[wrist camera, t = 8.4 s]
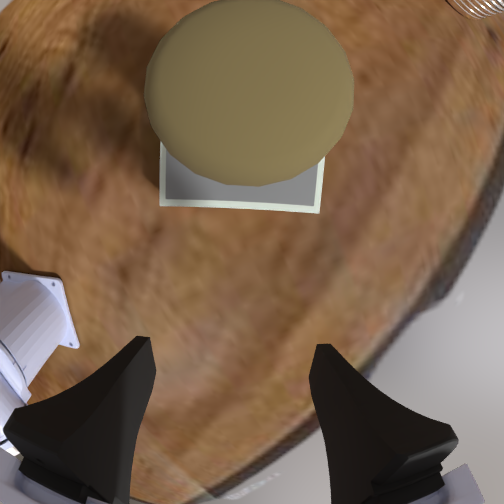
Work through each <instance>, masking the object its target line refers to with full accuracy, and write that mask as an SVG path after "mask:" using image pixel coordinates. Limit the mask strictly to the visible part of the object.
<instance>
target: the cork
mask: <svg viewBox="0 0 504 504" xmlns="http://www.w3.org/2000/svg"><path fill="white" fill-rule="evenodd" d="M144 100H145V104H146V108H147V112H148V116H149V120H150V124H151V127H152V128H153V130H154V132H155V133H156V135H157V136H158V138H159V139H160V141H161V142H162V144H163V145H164V146H165V148H166V149H167V151H168V152H169V154H170V155H171V156H172V157H174V158H175V159H176V160H178V161H179V162H180V163H182V164H183V165H184V166H186V167H187V168H188V169H190V170H191V171H192V172H193V173H195V174H197V175H200V176H203V177H206V178H208V179H211V180H214V181H217V182H219V183H222V184H225V185H238V186H255V187H260V186H264V185H269V184H273V183H277V182H281V181H285V180H290V179H292V178H294V177H296V176H297V175H299V174H301V173H303V172H304V171H306V170H308V169H309V168H311V167H313V166H314V165H316V164H318V163H319V162H320V161H321V160H322V159H323V158H324V156H325V155H326V154H327V153H328V152H329V151H330V150H331V149H332V147H333V146H334V145H335V144H336V143H337V142H338V141H339V139H340V138H341V137H342V135H343V133H344V130H345V128H346V125H347V123H348V120H349V118H350V115H351V113H352V110H353V100H354V78H353V75H352V71H351V68H350V65H349V62H348V59H347V56H346V53H345V51H344V50H343V48H342V47H341V45H340V44H339V43H338V41H337V40H336V39H335V37H334V36H333V35H332V33H331V32H330V31H329V29H328V28H327V27H326V26H325V25H324V24H322V23H321V22H320V21H318V20H317V19H316V18H314V17H313V16H312V15H310V14H309V13H307V12H306V11H304V10H303V9H302V8H299V7H297V6H294V5H291V4H289V3H286V2H283V1H280V0H219V1H214V2H211V3H209V4H207V5H205V6H203V7H201V8H199V9H197V10H195V11H193V12H192V13H190V14H188V15H186V16H185V17H183V18H182V19H181V20H180V21H179V22H178V23H177V24H176V25H175V26H174V27H173V28H172V29H171V30H170V31H169V32H168V33H167V34H166V35H165V36H164V37H163V38H162V39H161V40H160V42H159V44H158V46H157V48H156V49H155V51H154V53H153V56H152V58H151V60H150V62H149V64H148V66H147V71H146V79H145V88H144Z"/></svg>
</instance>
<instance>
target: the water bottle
mask: <svg viewBox="0 0 504 504" xmlns="http://www.w3.org/2000/svg"><path fill="white" fill-rule="evenodd" d="M447 1H448V2H449V3H450V5H451V6H452V7H453V8H454V9H456V10H457V11H458V12H459V13H460V14H462V15H463V16H465V17H467V18H469V19H472V20H479V19H484V18H487V17H490V16H492V15H496V14H499V13H502V12H504V0H447Z"/></svg>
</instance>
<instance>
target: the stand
mask: <svg viewBox="0 0 504 504" xmlns="http://www.w3.org/2000/svg"><path fill="white" fill-rule="evenodd" d="M324 160H325V156H324V158H323V159H322V160H321V161H320V162H319V163H318V164H316V165H314V166H313V167H311V168H309V169H308V170H306V171H304V172H303V173H301V174H299V175H297V176H296V177H294V178H292V179H290V180H285V181H281V182H277V183H273V184H269V185H264V186H260V187H255V186H238V185H225V184H222V183H219V182H217V181H214V180H211V179H208V178H206V177H203V176H200V175H197V174H195V173H193V172H192V171H191V170H190V169H188V168H187V167H186V166H184V165H183V164H182V163H180V162H179V161H178V160H176V159H175V158H174V157H172V156H171V155H170V154H169V152H168V151H167V149H166V148H165V146H164V145H163V144H162V142H161V144H160V206H187V207H218V208H242V209H261V210H278V211H293V212H307V213H319V210H320V201H321V192H322V182H323V171H324Z"/></svg>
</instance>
